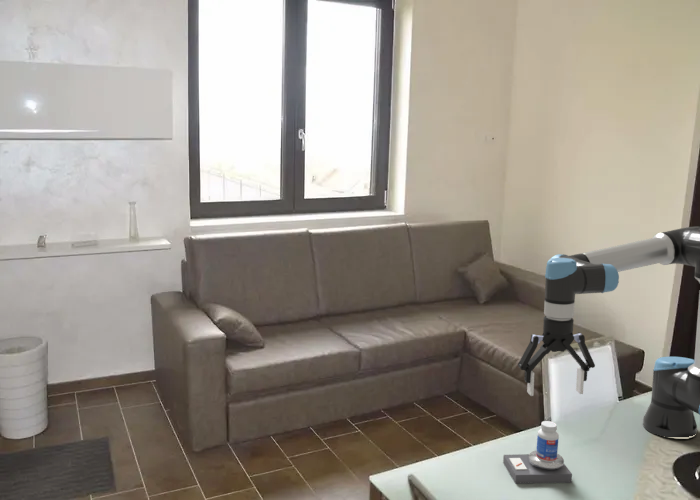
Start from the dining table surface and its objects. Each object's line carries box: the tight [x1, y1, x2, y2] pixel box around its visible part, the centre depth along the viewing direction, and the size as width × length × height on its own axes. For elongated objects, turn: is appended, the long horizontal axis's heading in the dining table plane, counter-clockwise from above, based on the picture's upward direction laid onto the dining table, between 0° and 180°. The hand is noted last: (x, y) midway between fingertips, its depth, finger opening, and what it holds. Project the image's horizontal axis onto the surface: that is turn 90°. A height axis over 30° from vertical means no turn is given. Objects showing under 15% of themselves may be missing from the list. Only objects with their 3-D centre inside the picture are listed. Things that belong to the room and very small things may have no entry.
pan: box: [529, 450, 565, 470], centre depth 171 cm, size 9×9×1 cm
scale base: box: [502, 453, 573, 484], centre depth 172 cm, size 15×11×3 cm
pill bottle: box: [535, 420, 560, 462], centre depth 170 cm, size 6×5×10 cm
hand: (554, 393), depth 171 cm, fingers open, 13 cm apart
